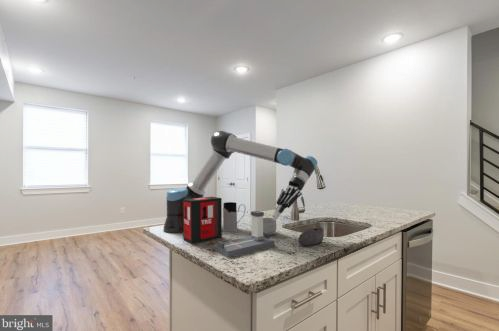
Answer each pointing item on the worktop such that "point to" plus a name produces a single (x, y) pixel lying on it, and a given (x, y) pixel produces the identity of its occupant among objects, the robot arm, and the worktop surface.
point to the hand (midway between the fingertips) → (274, 217)
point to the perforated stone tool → (311, 237)
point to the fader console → (243, 246)
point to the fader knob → (257, 225)
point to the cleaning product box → (202, 219)
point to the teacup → (269, 225)
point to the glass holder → (230, 216)
